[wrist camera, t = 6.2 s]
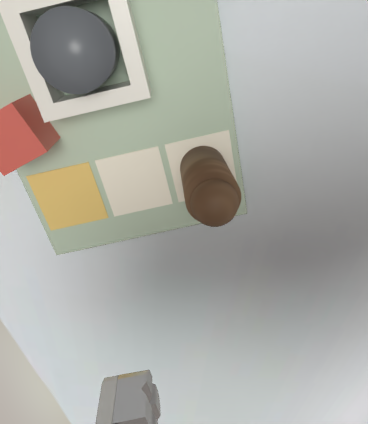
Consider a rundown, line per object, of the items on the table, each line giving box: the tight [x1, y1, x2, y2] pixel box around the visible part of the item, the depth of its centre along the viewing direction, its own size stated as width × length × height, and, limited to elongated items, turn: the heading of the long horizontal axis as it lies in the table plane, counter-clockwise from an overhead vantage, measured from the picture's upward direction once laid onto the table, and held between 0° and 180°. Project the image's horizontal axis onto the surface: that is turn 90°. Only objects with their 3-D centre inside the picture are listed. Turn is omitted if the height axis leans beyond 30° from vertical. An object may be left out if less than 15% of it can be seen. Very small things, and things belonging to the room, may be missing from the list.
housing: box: [0, 0, 151, 123], centre depth 22 cm, size 7×7×3 cm
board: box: [0, 0, 247, 255], centre depth 26 cm, size 17×20×1 cm
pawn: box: [180, 146, 241, 227], centre depth 24 cm, size 4×4×8 cm
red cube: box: [0, 94, 61, 176], centre depth 24 cm, size 4×4×4 cm
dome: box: [30, 6, 120, 94], centre depth 21 cm, size 4×4×4 cm
